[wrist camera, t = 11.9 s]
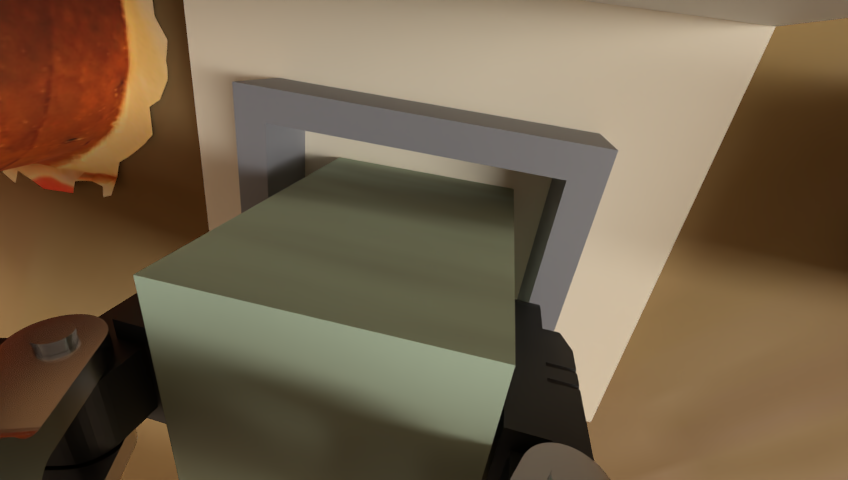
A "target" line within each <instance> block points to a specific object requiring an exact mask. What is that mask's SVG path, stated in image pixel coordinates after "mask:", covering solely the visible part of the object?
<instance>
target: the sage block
mask: <svg viewBox="0 0 848 480" xmlns="http://www.w3.org/2000/svg"><path fill="white" fill-rule="evenodd" d="M133 276H134V280H135V285H136V289H137V294H138V298H139V303H140V307H141V312H142V316H143V321H144V325H145V330H146V334H147V339H148V343H149V348H150V352H151V357H152V361H153V366H154V370H155V374H156V379H157V383H158V388H159V392H160V397H161V401H162V406H163V410H164V415H165V419H166V424H167V428H168V433H169V437H170V442H171V446H172V451H173V455H174V460H175V464H176V469H177V473H178V478H179V480H482V476H483V473H484V470H485V466H486V463H487V459H488V456H489V453H490V449H491V446H492V443H493V439H494V436H495V433H496V429H497V426H498V422H499V419H500V416H501V412H502V409H503V406H504V402H505V399H506V396H507V392H508V389H509V386H510V382H511V379H512V375H513V372H514V369H515V270H514V189H512V188H506V187H501V186H495V185H490V184H484V183H479V182H473V181H468V180H462V179H457V178H451V177H446V176H440V175H434V174H429V173H423V172H418V171H412V170H407V169H401V168H396V167H390V166H385V165H379V164H374V163H368V162H363V161H357V160H352V159H346V158H341V157H340V158H338V159H336V160H334V161H333V162H331V163H329V164H327V165H326V166H324V167H322V168H320V169H319V170H317V171H315V172H313V173H311V174H310V175H308V176H306V177H304V178H303V179H301V180H299V181H297V182H296V183H294V184H292V185H290V186H289V187H287V188H285V189H283V190H282V191H280V192H278V193H276V194H275V195H273V196H271V197H269V198H267V199H266V200H264V201H262V202H260V203H259V204H257V205H255V206H253V207H252V208H250V209H248V210H246V211H245V212H243V213H241V214H239V215H238V216H236V217H234V218H232V219H231V220H229V221H227V222H225V223H223V224H222V225H220V226H218V227H216V228H215V229H213V230H211V231H209V232H208V233H206V234H204V235H202V236H201V237H199V238H197V239H195V240H194V241H192V242H190V243H188V244H187V245H185V246H183V247H181V248H180V249H178V250H176V251H174V252H172V253H171V254H169V255H167V256H165V257H164V258H162V259H160V260H158V261H157V262H155V263H153V264H151V265H150V266H148V267H146V268H144V269H143V270H141V271H139V272H137V273H136V274H134V275H133Z"/></svg>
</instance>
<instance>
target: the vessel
mask: <svg viewBox="0 0 848 480" xmlns="http://www.w3.org/2000/svg"><path fill="white" fill-rule="evenodd" d="M167 41H168V40H167V38H166V36H165V34H164V33H163V31H162V29H161V27H160V25H159V23H158V22H157V20H156V18H155V16H154V8H153V0H0V171H3V173H4V174H5V175H6V176H7V177H9V178H10V179H11V180H12V181H13V182H14V183H16V178H17V172H18V171H19V172H21V173H22V174H24V175H25V176H27V177H28V178H29V179H31V180H32V181H34V182H35V183H36V184H38V185H39V186H41V187H42V188H43V189H49V190H56V191H63V192H68V193H73V190H74V185H75V181H92V182H94V183H97V184H99V185H101V186H103V197H106V196H111V195H112V192H113V188H114V185H115V182H116V179H117V175H118V167H119V162H121V161H122V160H124V159H126V158H127V157H129V156H130V155H131V154H133V153H134V152H135V151H137V150H138V149H139V148H140V147H141V146H143V145H144V144H145V143H146V142H147V140H148V139H149V138H150V137H151V136H152V135H153V133H152V124H151V116H150V108H149V107H150V106H151V105H153V104H154V103H156V102H157V101H159V100H160V98H161V96H162V93H163V90H164V88H165V85H166V83H167V80H168V71H167V64H166V55H167Z"/></svg>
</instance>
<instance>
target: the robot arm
mask: <svg viewBox="0 0 848 480" xmlns="http://www.w3.org/2000/svg"><path fill="white" fill-rule="evenodd" d="M146 418H149V419H152V420H155V421H159V422H162V423H165V424H166V419H165V415H164V410H163V406H162V401H161V397H160V392H159V388H158V383H157V379H156V374H155V370H154V366H153V361H152V357H151V352H150V348H149V343H148V339H147V334H146V330H145V325H144V321H143V316H142V312H141V307H140V303H139V298H138V294H137V293H136V294H135V295H133V296H131V297H130V298H128V299H126V300H125V301H123V302H122V303H120V304H118V305H117V306H115V307H114V308H112V309H110V310H109V311H107V312H106V313H104V314H102V315H101V316H99V317H96V316H93V315H86V314H74V315H65V316H59V317H54V318H50V319H46V320H43V321H40V322H37V323H35V324H32V325H30V326H28V327H25V328H23V329H22V330H20V331H18V332H16V333H15V334H13V335H12V336H10V337H9V338H0V480H120V478H121V476H122V473H123V471H124V469H125V467H126V465H127V463H128V460H129V458H130V456H131V454H132V452H133V450H134V447H135V445H136V442H137V432H136V428H137V427H138V426H139V425H140V424H141V423H142V422H143V421H144V420H145V419H146ZM482 480H610V478H609V477H608V476H607V474H606V473H605V472H604V471H603V470H602V469H601V467H600V466H599V465H598V464H597V463H595V462H594V459H593V454H592V449H591V444H590V439H589V434H588V428H587V423H586V418H585V413H584V407H583V402H582V397H581V392H580V390H579V381H578V376H577V373H576V366H575V360H574V355H573V351H572V349H571V348H570V346H569V345H568V344H567V342H566V341H565V339H564V338H563V336H562V335H561V334H560V333H559V332H555V331H551V330H546V329H542V318H541V308H540V305H538V304H534V303H529V302H525V301H521V300H516V299H515V369H514V372H513V375H512V379H511V382H510V386H509V389H508V392H507V396H506V399H505V402H504V406H503V409H502V412H501V416H500V419H499V422H498V426H497V429H496V433H495V436H494V439H493V443H492V446H491V449H490V453H489V456H488V459H487V463H486V466H485V470H484V473H483V476H482Z"/></svg>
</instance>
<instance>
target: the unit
mask: <svg viewBox="0 0 848 480" xmlns="http://www.w3.org/2000/svg"><path fill="white" fill-rule="evenodd" d="M183 2H184V11H185V19H186V28H187V37H188V46H189V55H190V64H191V73H192V82H193V91H194V100H195V109H196V118H197V127H198V136H199V145H200V154H201V163H202V171H203V180H204V189H205V198H206V207H207V216H208V225H209V231H211V230H213V229H215V228H216V227H218V226H220V225H222V224H223V223H225V222H227V221H229V220H231V219H232V218H234V217H236V216H238V215H239V214H241V213H243V212H245V211H246V210H248V209H250V208H252V207H253V206H255V205H257V204H259V203H260V202H262V201H264V200H266V199H267V198H269V197H271V196H273V195H275V194H276V193H278V192H280V191H282V190H283V189H285V188H287V187H289V186H290V185H292V184H294V183H296V182H297V181H299V180H301V179H303V178H304V177H306V176H308V175H310V174H311V173H313V172H315V171H317V170H319V169H320V168H322V167H324V166H326V165H327V164H329V163H331V162H333V161H334V160H336V159H338V158H340V157H341V158H346V159H352V160H357V161H363V162H368V163H374V164H379V165H385V166H390V167H396V168H401V169H407V170H412V171H418V172H423V173H429V174H434V175H440V176H446V177H451V178H457V179H462V180H468V181H473V182H479V183H484V184H490V185H495V186H501V187H506V188H512V189H514V270H515V299H516V300H521V301H525V302H529V303H534V304H538V305H540V308H541V318H542V329H546V330H551V331H555V332H559V333H560V334H561V335H562V336H563V338H564V339H565V341H566V342H567V344H568V345H569V346H570V348H571V349H572V351H573V355H574V360H575V366H576V373H577V376H578V381H579V390H580V392H581V397H582V402H583V407H584V413H585V418H586V421H589V422H591V420H592V418H593V416H594V414H595V412H596V410H597V408H598V405H599V403H600V401H601V399H602V397H603V395H604V393H605V390H606V388H607V386H608V384H609V382H610V380H611V378H612V375H613V373H614V371H615V369H616V367H617V365H618V363H619V361H620V358H621V356H622V354H623V352H624V350H625V348H626V346H627V343H628V341H629V339H630V337H631V335H632V333H633V331H634V328H635V326H636V324H637V322H638V320H639V318H640V316H641V313H642V311H643V309H644V307H645V305H646V303H647V301H648V298H649V296H650V294H651V292H652V290H653V288H654V286H655V283H656V281H657V279H658V277H659V275H660V273H661V271H662V269H663V266H664V264H665V262H666V260H667V258H668V256H669V254H670V251H671V249H672V247H673V245H674V243H675V241H676V239H677V236H678V234H679V232H680V230H681V228H682V226H683V224H684V221H685V219H686V217H687V215H688V213H689V211H690V209H691V206H692V204H693V202H694V200H695V198H696V196H697V194H698V192H699V189H700V187H701V185H702V183H703V181H704V179H705V177H706V174H707V172H708V170H709V168H710V166H711V164H712V162H713V159H714V157H715V155H716V153H717V151H718V149H719V147H720V144H721V142H722V140H723V138H724V136H725V134H726V132H727V129H728V127H729V125H730V123H731V121H732V119H733V117H734V114H735V112H736V110H737V108H738V106H739V104H740V102H741V100H742V97H743V95H744V93H745V91H746V89H747V87H748V85H749V82H750V80H751V78H752V76H753V74H754V72H755V70H756V67H757V65H758V63H759V61H760V59H761V57H762V55H763V52H764V50H765V48H766V46H767V44H768V42H769V40H770V37H771V35H772V33H773V31H774V29H775V27H776V26H783V25H791V24H800V23H808V22H817V21H825V20H834V19H842V18H848V0H183Z"/></svg>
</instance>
